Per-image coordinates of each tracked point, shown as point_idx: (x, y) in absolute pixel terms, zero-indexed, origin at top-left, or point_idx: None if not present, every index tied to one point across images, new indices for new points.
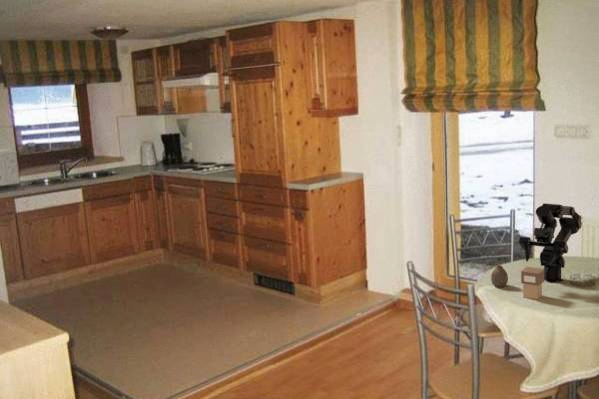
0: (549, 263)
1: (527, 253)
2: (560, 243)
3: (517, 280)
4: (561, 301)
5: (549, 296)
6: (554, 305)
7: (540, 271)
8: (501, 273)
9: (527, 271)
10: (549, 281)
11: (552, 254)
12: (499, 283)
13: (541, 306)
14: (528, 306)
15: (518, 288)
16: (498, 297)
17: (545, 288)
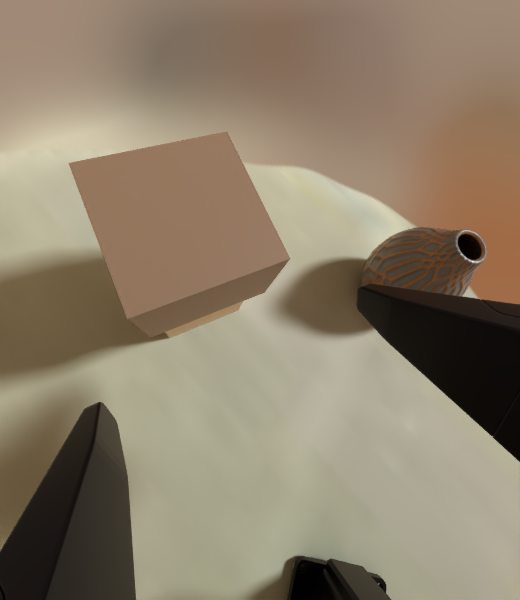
0: (93, 405)
1: (445, 307)
2: None
3: (409, 417)
4: (27, 346)
5: (131, 357)
6: (20, 269)
7: (100, 227)
8: (408, 244)
9: (187, 155)
10: (300, 558)
11: (24, 584)
12: (371, 253)
13: (64, 214)
14: None
15: (315, 327)
16: (274, 179)
17: (236, 444)
